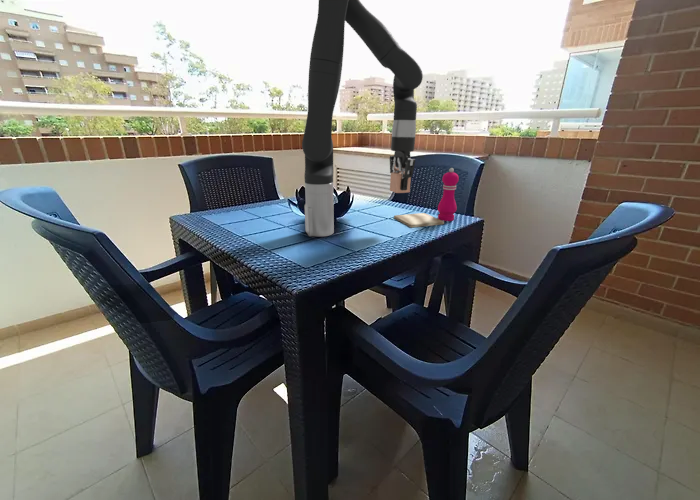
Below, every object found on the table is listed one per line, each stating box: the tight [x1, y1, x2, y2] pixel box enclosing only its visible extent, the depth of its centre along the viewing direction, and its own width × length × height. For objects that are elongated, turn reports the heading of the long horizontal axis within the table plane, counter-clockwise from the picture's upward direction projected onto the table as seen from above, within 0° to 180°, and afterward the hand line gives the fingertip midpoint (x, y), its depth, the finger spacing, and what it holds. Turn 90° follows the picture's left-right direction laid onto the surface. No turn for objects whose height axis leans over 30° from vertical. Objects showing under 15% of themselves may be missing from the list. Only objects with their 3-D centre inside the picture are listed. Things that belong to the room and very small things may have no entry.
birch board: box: [393, 212, 445, 228], centre depth 124 cm, size 14×14×1 cm
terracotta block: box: [389, 172, 412, 194], centre depth 107 cm, size 5×5×6 cm
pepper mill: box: [437, 167, 459, 222], centre depth 124 cm, size 7×7×20 cm
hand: (399, 188), depth 108 cm, fingers closed on terracotta block, 5 cm apart
